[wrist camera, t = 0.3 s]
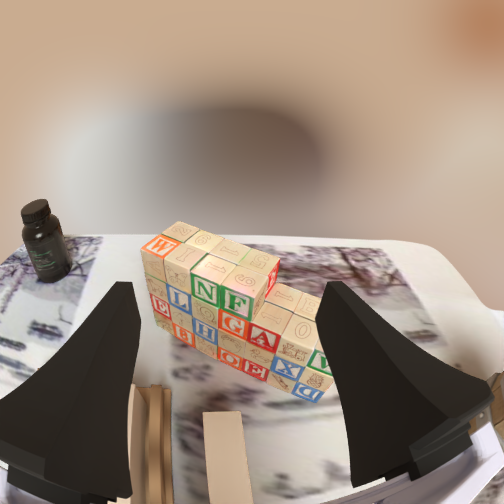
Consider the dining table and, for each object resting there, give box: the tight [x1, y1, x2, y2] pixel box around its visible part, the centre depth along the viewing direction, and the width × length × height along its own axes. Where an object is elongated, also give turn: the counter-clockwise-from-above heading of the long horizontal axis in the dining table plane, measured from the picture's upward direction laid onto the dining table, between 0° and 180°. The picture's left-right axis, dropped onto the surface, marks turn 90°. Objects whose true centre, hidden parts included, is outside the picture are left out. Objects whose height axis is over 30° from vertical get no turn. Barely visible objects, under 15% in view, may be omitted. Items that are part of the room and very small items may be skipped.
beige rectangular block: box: [203, 411, 253, 504], centre depth 17 cm, size 12×3×5 cm, turn 7°
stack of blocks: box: [140, 221, 334, 403], centre depth 28 cm, size 21×6×12 cm, turn 64°
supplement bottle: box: [21, 199, 71, 283], centre depth 33 cm, size 7×7×12 cm
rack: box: [38, 368, 174, 504], centre depth 17 cm, size 16×16×3 cm
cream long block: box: [108, 384, 147, 504], centre depth 17 cm, size 12×3×5 cm, turn 7°
